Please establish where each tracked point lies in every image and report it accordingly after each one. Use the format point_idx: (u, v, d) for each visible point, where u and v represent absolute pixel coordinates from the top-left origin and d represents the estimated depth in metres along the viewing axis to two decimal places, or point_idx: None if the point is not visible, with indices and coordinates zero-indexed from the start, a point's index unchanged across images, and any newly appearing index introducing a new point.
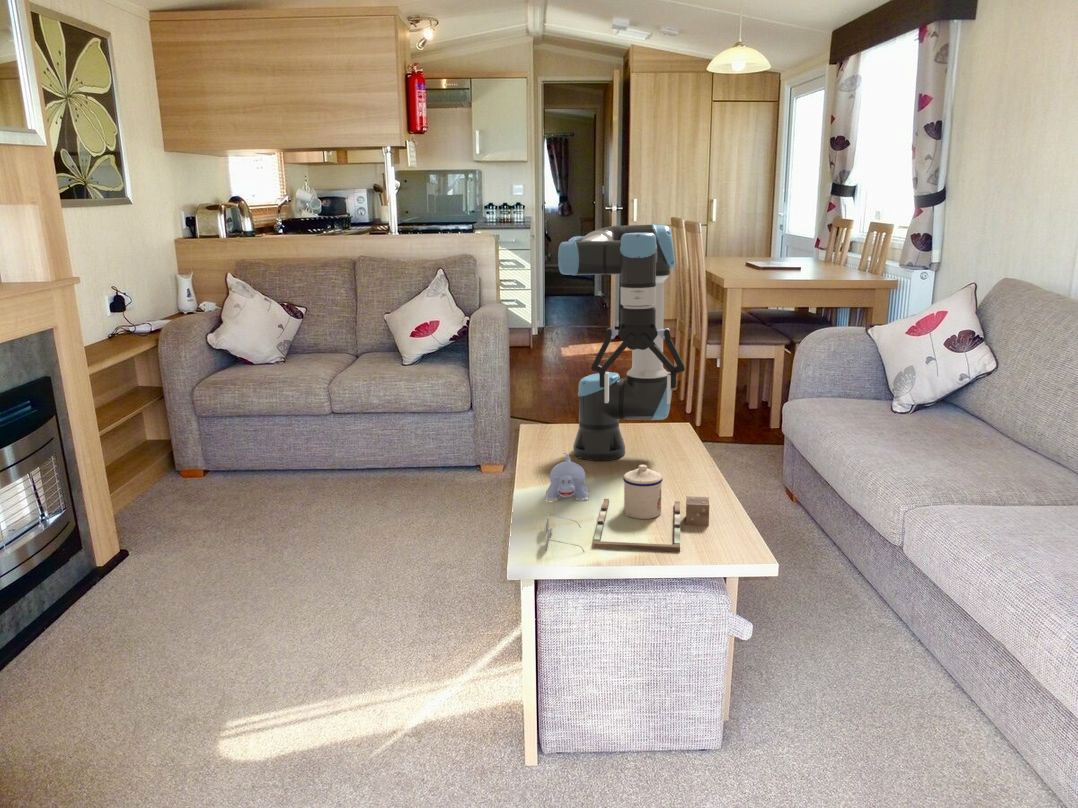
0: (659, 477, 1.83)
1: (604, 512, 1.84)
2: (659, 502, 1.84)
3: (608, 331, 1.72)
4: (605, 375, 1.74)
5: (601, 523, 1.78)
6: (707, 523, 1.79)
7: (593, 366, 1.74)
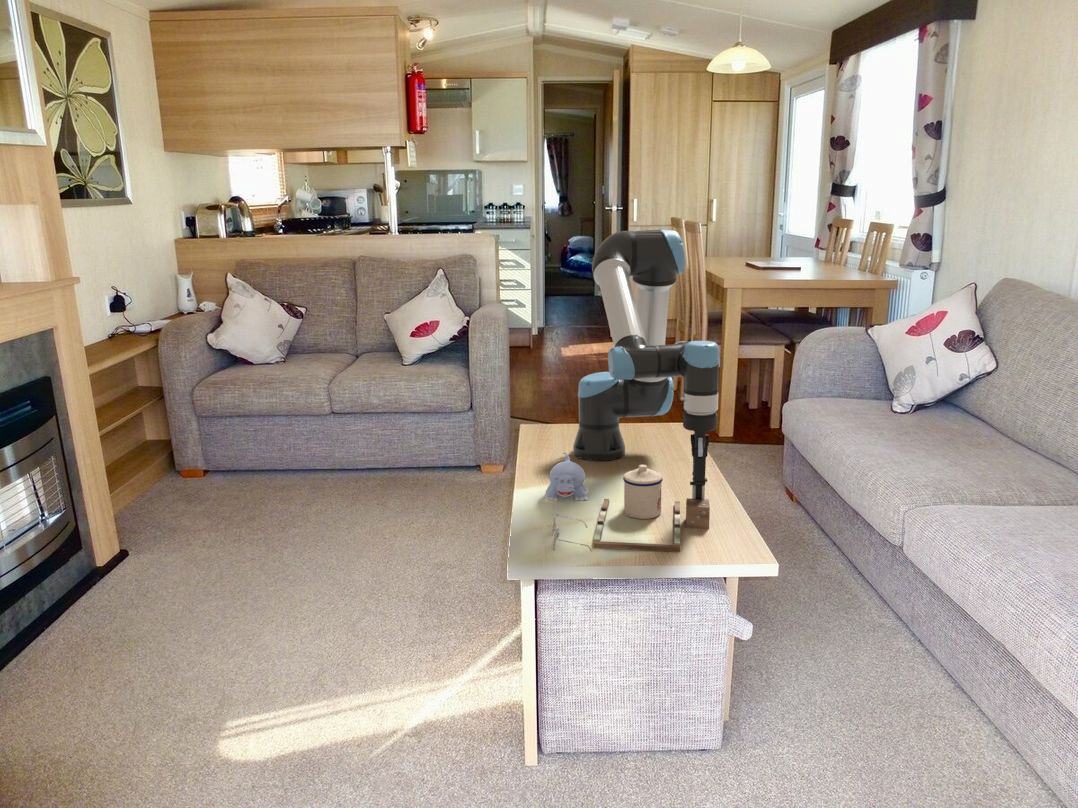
0: (659, 477, 1.83)
1: (604, 512, 1.84)
2: (659, 502, 1.84)
3: None
4: None
5: (601, 523, 1.78)
6: (707, 525, 1.77)
7: None
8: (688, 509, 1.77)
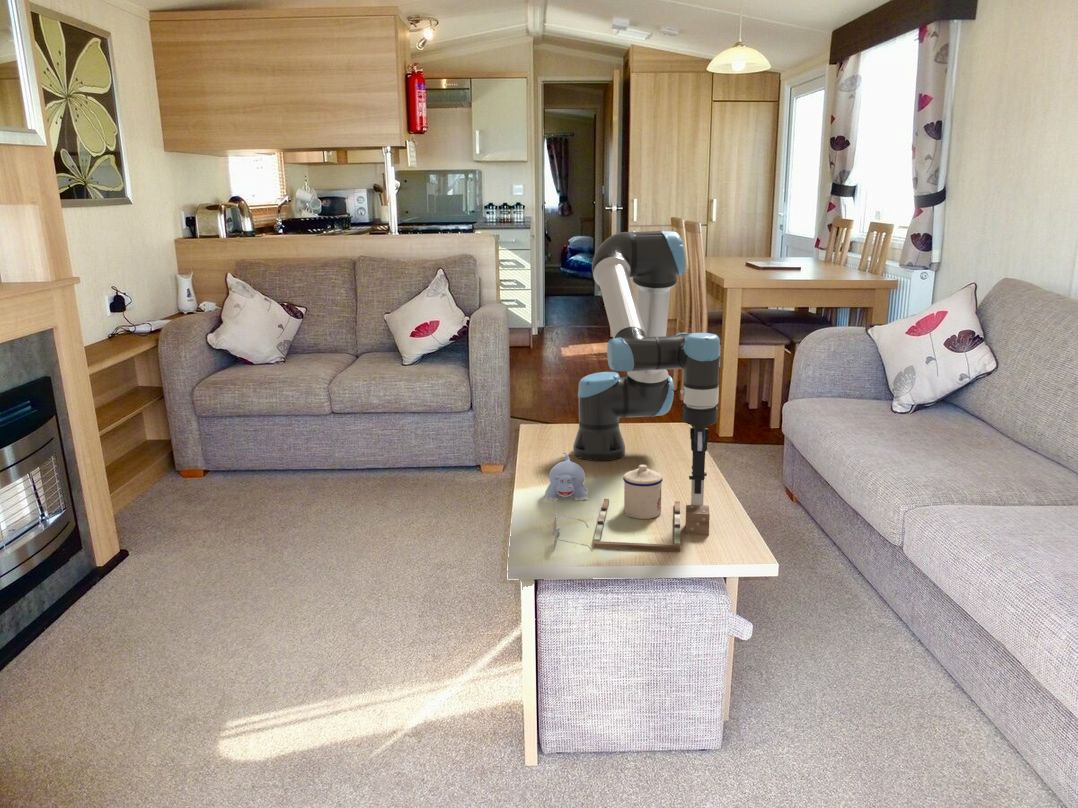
0: (659, 477, 1.83)
1: (604, 512, 1.84)
2: (659, 502, 1.84)
3: None
4: None
5: (601, 523, 1.78)
6: (707, 532, 1.74)
7: None
8: (687, 516, 1.73)
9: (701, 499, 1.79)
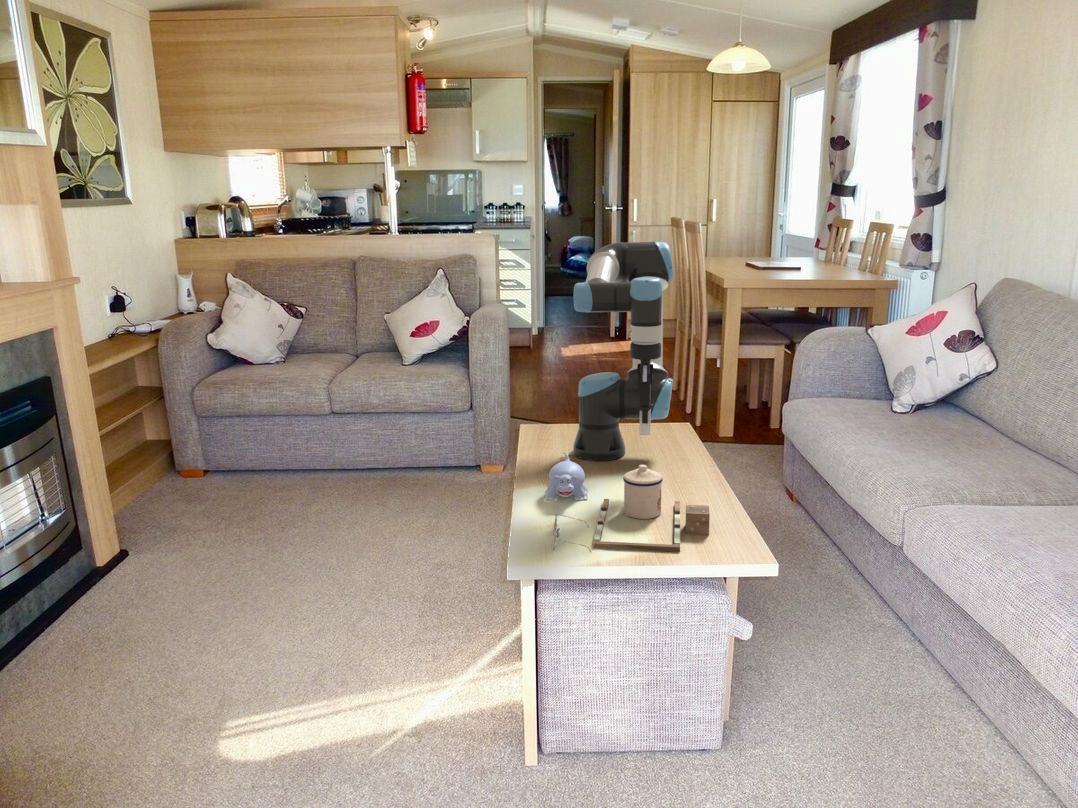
0: (659, 477, 1.83)
1: (604, 512, 1.84)
2: (659, 502, 1.84)
3: None
4: None
5: (601, 523, 1.78)
6: (707, 532, 1.74)
7: None
8: (687, 516, 1.73)
9: (648, 429, 1.99)
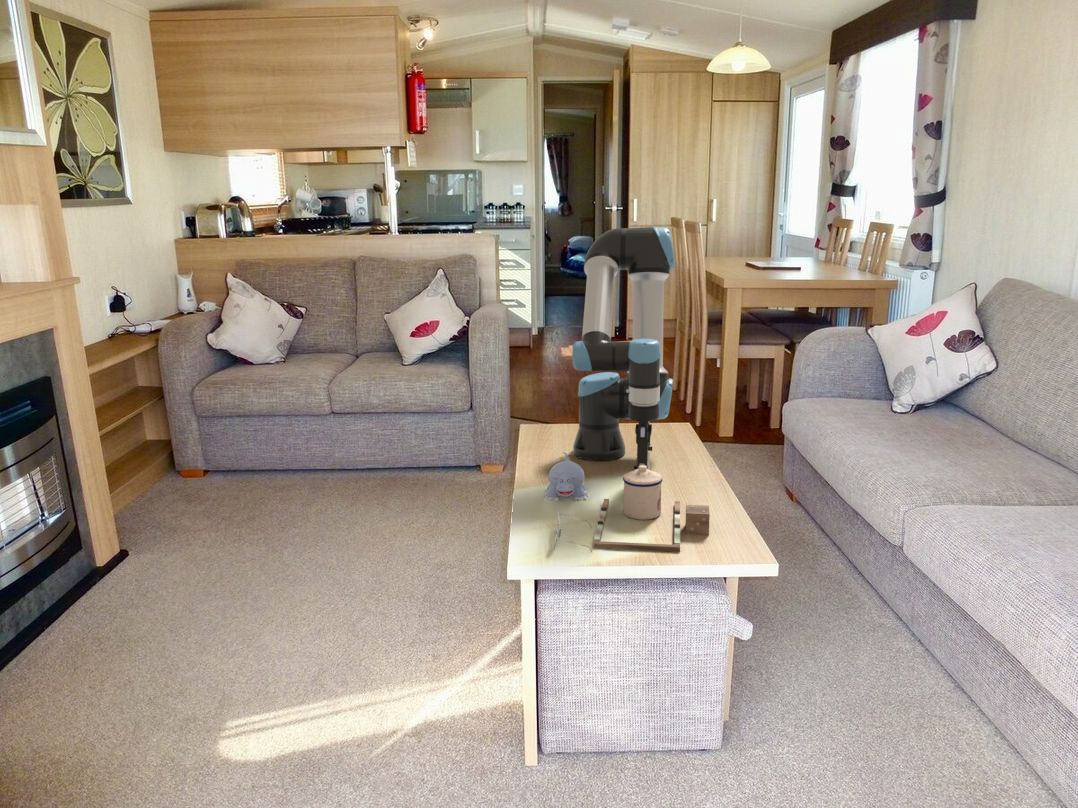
0: (659, 477, 1.83)
1: (604, 512, 1.84)
2: (659, 503, 1.84)
3: None
4: None
5: (601, 523, 1.78)
6: (707, 532, 1.74)
7: None
8: (687, 516, 1.73)
9: None
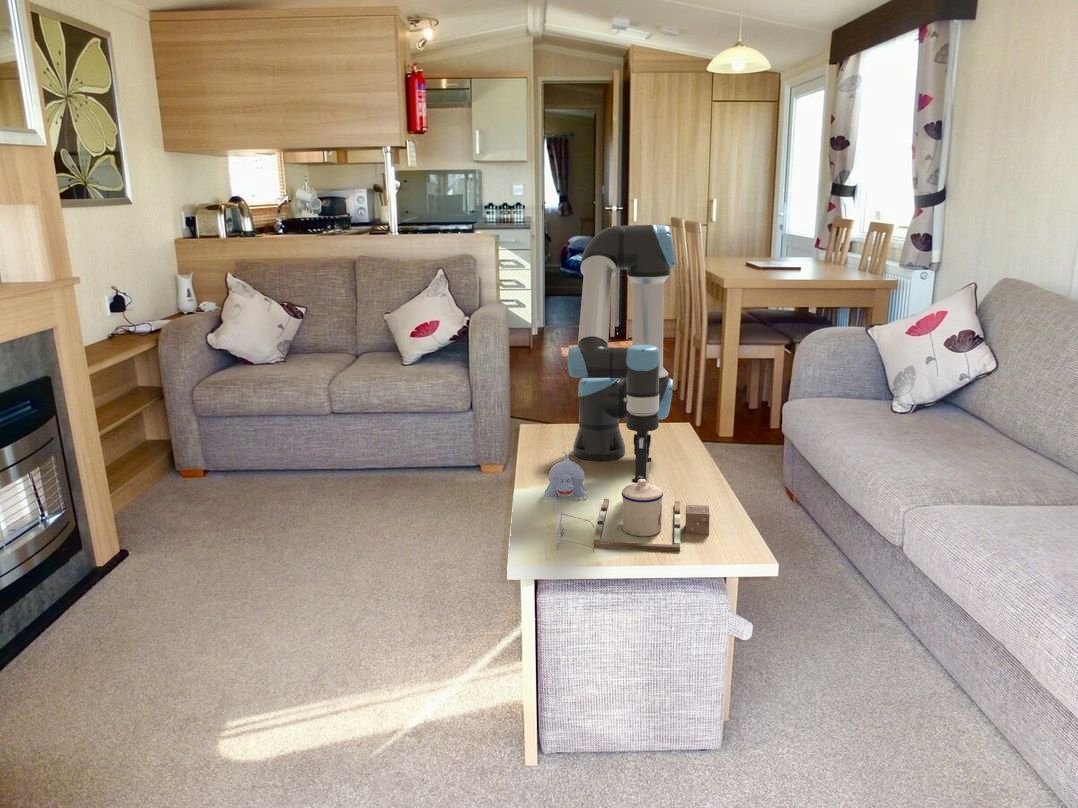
0: (660, 492, 1.74)
1: (604, 512, 1.84)
2: (660, 518, 1.75)
3: None
4: None
5: (601, 523, 1.78)
6: (707, 532, 1.74)
7: None
8: (687, 516, 1.73)
9: None
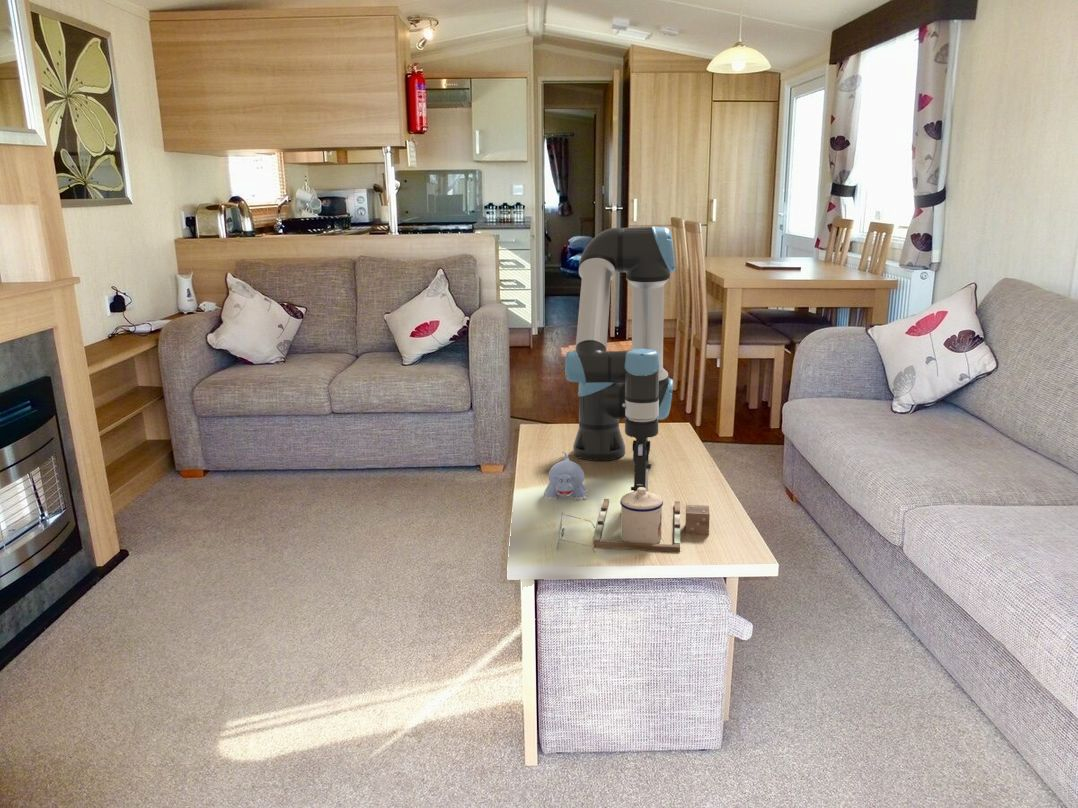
0: (659, 501, 1.69)
1: (604, 512, 1.84)
2: (660, 527, 1.70)
3: None
4: None
5: (601, 523, 1.78)
6: (707, 532, 1.74)
7: None
8: (687, 516, 1.73)
9: None
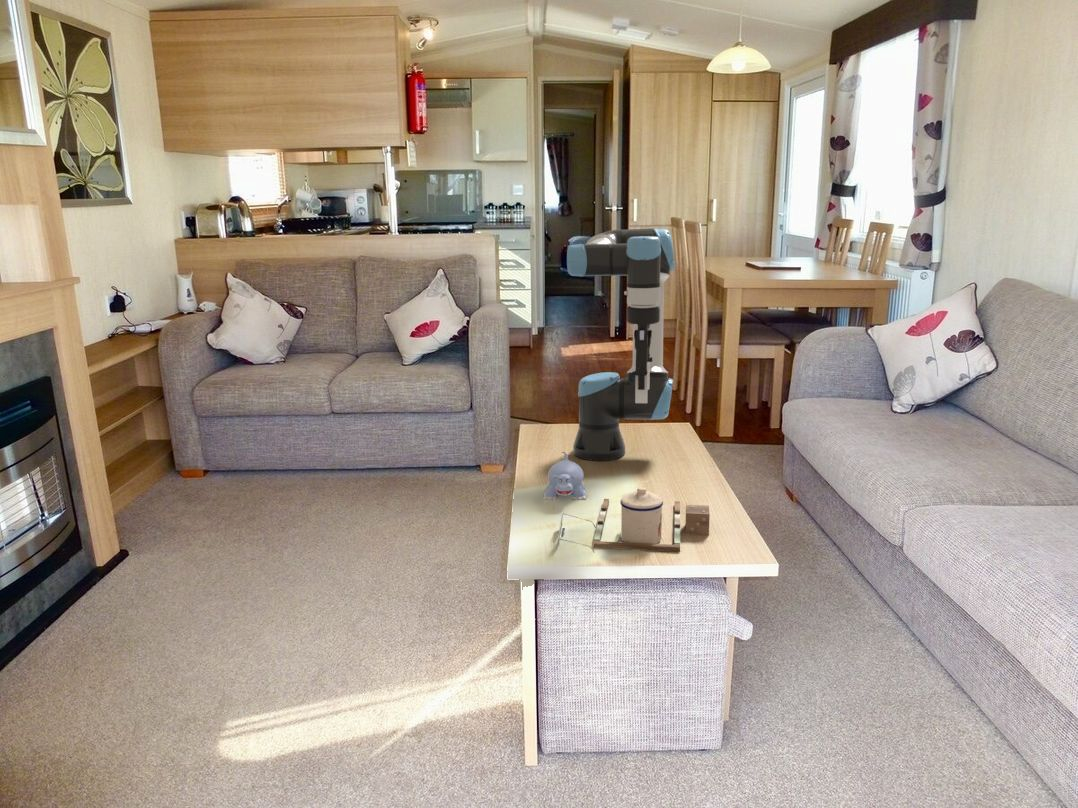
0: (659, 500, 1.69)
1: (604, 512, 1.84)
2: (660, 527, 1.70)
3: None
4: None
5: (601, 523, 1.78)
6: (707, 532, 1.74)
7: None
8: (687, 516, 1.73)
9: (645, 396, 1.79)
